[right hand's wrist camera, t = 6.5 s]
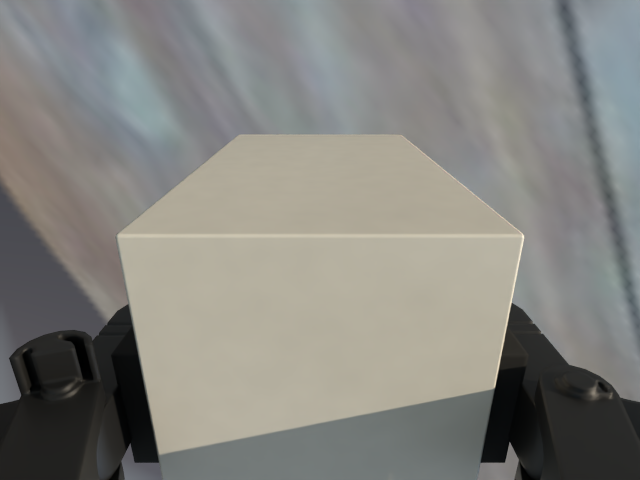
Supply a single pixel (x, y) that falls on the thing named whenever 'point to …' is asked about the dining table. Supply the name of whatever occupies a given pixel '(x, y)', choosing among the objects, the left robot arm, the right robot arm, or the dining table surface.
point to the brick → (319, 313)
